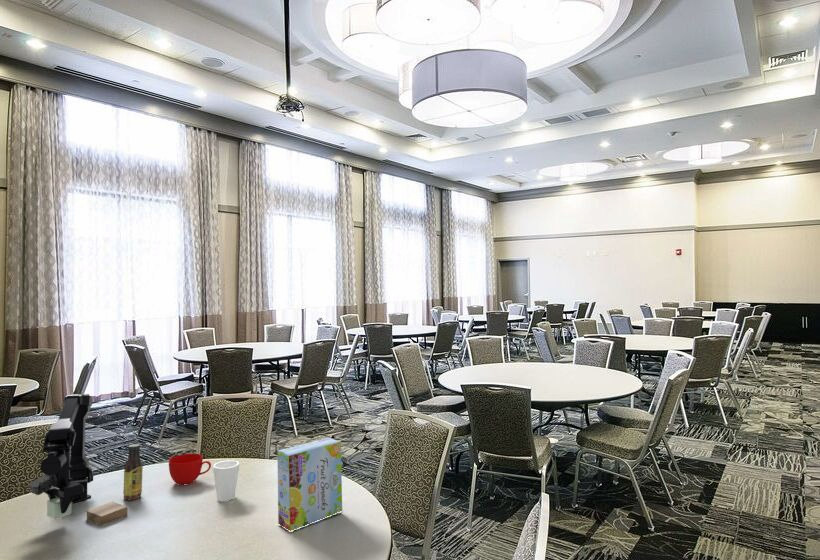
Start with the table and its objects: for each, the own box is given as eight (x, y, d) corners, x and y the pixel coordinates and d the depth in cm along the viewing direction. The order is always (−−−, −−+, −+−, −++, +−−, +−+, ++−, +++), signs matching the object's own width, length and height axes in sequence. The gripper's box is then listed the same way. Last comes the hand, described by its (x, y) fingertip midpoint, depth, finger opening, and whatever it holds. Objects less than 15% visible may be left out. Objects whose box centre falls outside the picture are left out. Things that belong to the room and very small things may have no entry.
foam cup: (207, 501, 193) (207, 466, 194) (224, 492, 202) (225, 459, 202) (227, 505, 190) (227, 469, 190) (244, 495, 198) (244, 462, 199)
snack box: (328, 506, 189) (329, 436, 189) (343, 514, 182) (343, 441, 183) (276, 525, 173) (276, 449, 174) (289, 534, 167) (290, 454, 168)
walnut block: (86, 521, 178) (86, 510, 178) (112, 511, 186) (112, 501, 186) (101, 526, 173) (101, 516, 173) (127, 516, 181) (127, 506, 181)
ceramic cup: (204, 488, 206) (204, 463, 206) (162, 488, 206) (162, 463, 206) (216, 477, 219) (216, 453, 219) (177, 476, 219) (177, 453, 219)
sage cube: (47, 515, 171) (47, 500, 171) (63, 510, 176) (63, 495, 176) (55, 519, 169) (55, 503, 169) (71, 513, 173) (71, 498, 173)
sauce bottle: (133, 501, 193) (134, 448, 193) (119, 500, 194) (120, 447, 195) (145, 494, 199) (146, 443, 200) (132, 493, 201) (132, 442, 201)
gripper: (18, 467, 170) (17, 514, 170) (47, 477, 161) (47, 527, 161) (55, 457, 180) (54, 502, 180) (84, 466, 171) (84, 513, 170)
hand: (59, 511), depth 172 cm, fingers closed on sage cube, 5 cm apart
